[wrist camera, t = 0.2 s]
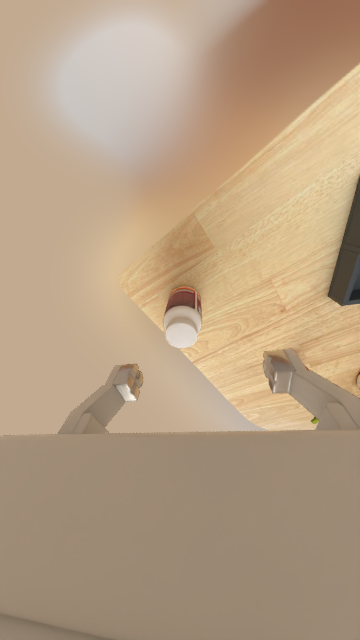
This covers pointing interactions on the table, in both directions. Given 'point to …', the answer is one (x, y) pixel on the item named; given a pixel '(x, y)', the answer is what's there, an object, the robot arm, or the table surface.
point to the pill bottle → (183, 317)
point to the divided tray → (348, 260)
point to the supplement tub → (358, 381)
